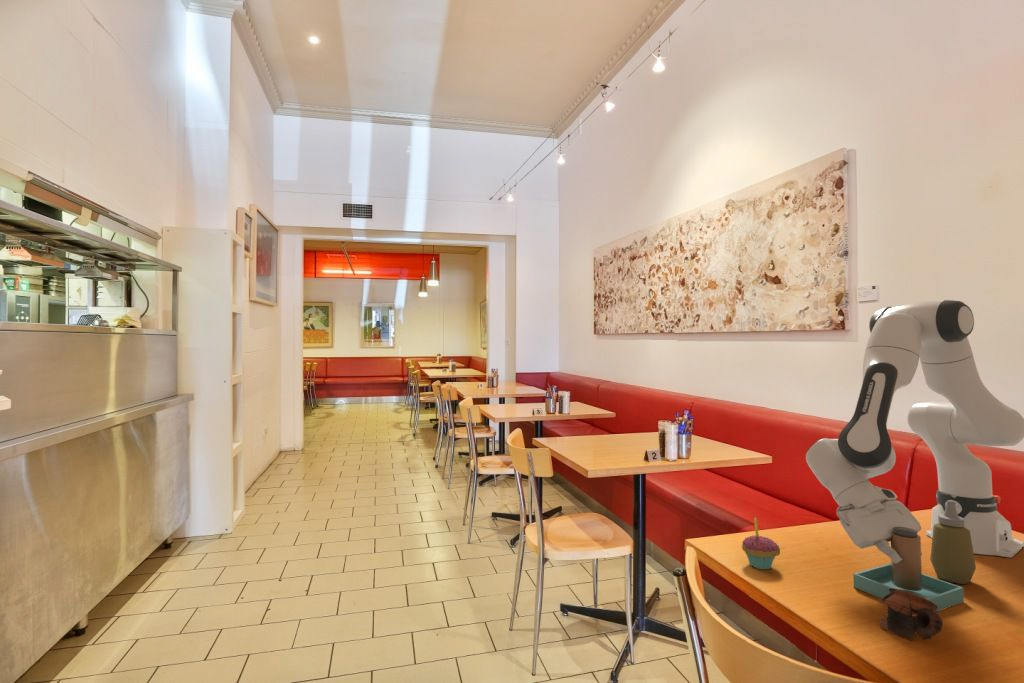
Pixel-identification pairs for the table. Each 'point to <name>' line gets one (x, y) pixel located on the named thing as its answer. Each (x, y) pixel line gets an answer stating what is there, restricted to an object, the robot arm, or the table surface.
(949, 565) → the squeeze bottle
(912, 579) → the shaker
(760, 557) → the cupcake
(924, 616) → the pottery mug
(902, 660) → the table surface
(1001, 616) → the table surface
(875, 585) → the tray
